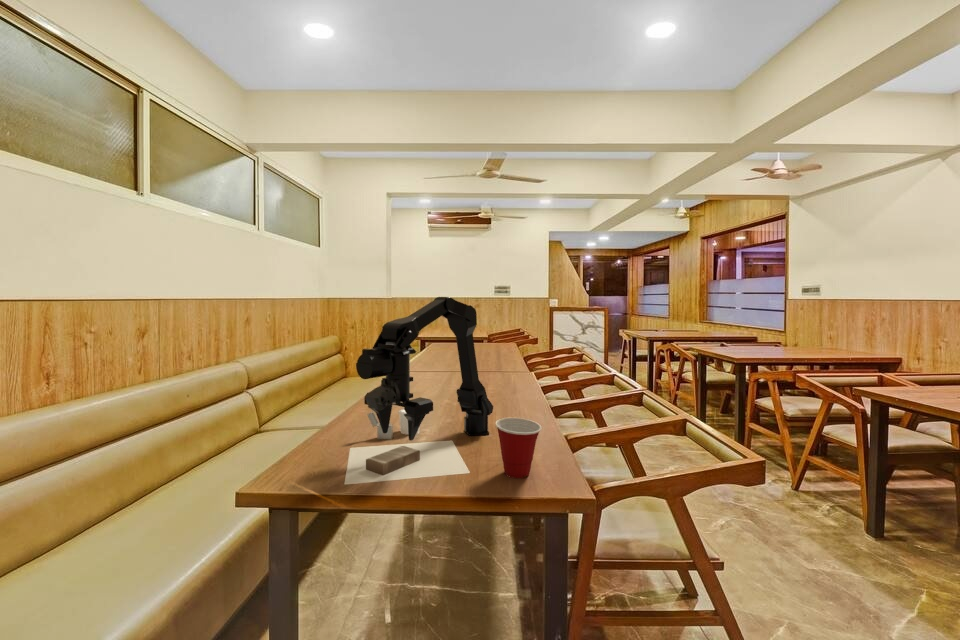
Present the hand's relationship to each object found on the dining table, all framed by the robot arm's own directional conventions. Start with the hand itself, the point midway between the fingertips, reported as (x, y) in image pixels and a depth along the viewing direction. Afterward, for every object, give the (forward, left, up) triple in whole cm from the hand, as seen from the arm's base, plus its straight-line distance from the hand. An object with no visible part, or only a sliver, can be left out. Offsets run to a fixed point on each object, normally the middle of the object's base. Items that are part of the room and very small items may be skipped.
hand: (398, 436), depth 106 cm
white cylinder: (-5, -25, -7) cm, 26 cm away
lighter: (+4, -21, -7) cm, 23 cm away
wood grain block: (-3, -3, -5) cm, 7 cm away
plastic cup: (-27, +12, -7) cm, 30 cm away
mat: (-2, -2, -7) cm, 8 cm away
